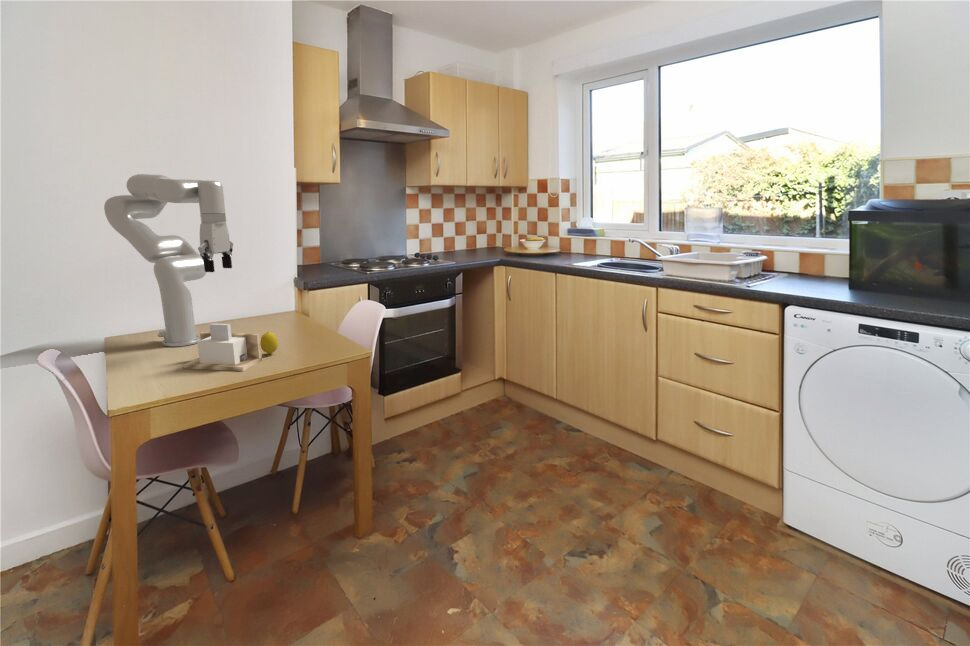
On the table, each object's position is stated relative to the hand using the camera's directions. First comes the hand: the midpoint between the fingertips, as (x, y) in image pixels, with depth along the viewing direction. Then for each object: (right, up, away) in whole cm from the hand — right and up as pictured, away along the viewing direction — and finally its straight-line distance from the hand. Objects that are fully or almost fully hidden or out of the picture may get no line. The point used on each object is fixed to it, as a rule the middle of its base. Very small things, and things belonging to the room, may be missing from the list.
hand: (218, 270), depth 185 cm
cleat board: (+7, -31, -10) cm, 34 cm away
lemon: (+17, -29, +1) cm, 34 cm away
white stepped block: (+7, -30, -10) cm, 33 cm away
